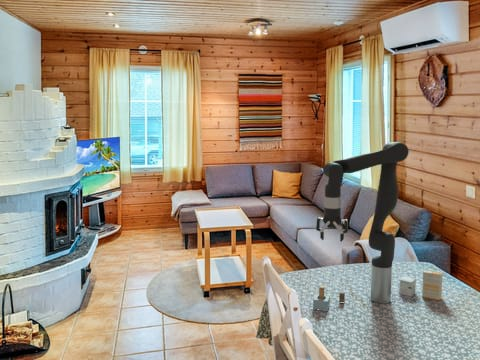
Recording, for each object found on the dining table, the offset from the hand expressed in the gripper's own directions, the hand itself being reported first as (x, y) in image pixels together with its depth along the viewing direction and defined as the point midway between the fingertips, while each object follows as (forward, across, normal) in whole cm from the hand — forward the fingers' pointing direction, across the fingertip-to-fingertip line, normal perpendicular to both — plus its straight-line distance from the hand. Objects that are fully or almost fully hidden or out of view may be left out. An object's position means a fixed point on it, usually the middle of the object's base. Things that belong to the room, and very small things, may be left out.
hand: (331, 240), depth 206 cm
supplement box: (+30, -45, -20) cm, 58 cm away
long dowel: (+30, +3, +8) cm, 31 cm away
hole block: (+30, +3, +8) cm, 31 cm away
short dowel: (+30, -5, -1) cm, 31 cm away
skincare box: (+30, -34, -22) cm, 51 cm away
